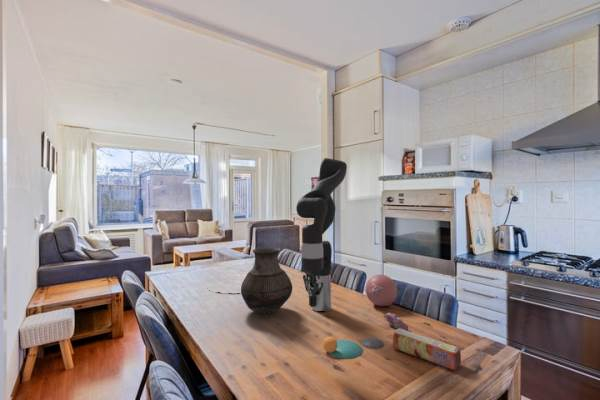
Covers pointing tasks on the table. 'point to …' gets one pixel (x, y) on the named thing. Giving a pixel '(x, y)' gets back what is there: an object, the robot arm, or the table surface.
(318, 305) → the robot arm
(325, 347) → the ball
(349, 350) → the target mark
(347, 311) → the table surface
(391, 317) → the video game controller
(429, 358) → the snack package
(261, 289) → the vase
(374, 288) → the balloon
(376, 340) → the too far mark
